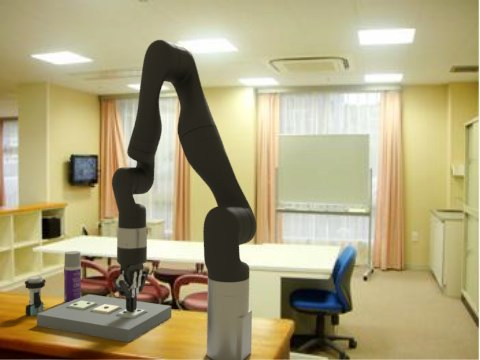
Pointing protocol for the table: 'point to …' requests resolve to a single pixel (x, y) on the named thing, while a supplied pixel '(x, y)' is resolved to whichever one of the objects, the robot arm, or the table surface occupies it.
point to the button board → (104, 319)
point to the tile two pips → (82, 305)
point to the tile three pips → (131, 313)
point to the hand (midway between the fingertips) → (131, 310)
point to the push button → (35, 295)
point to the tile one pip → (106, 309)
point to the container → (72, 276)
